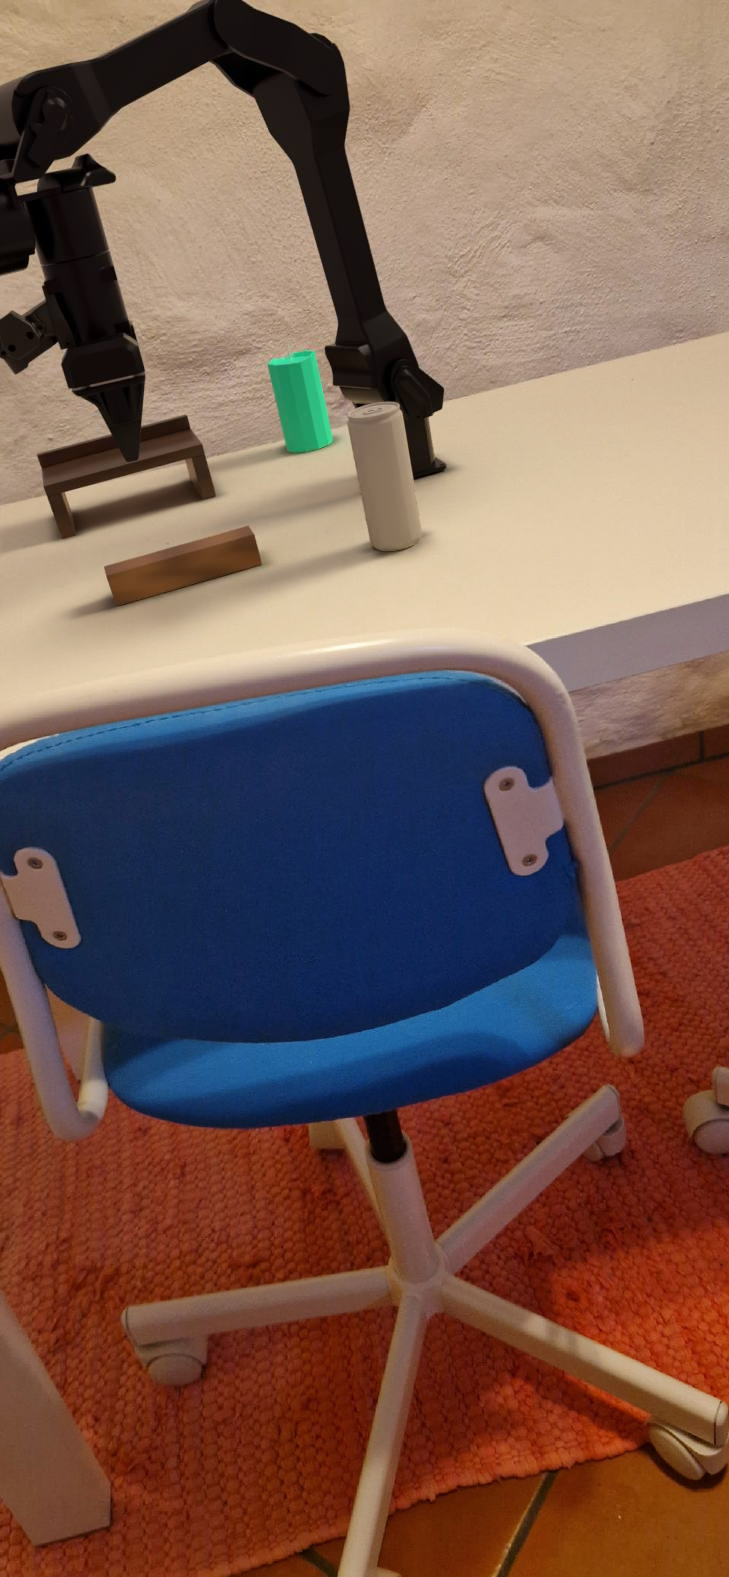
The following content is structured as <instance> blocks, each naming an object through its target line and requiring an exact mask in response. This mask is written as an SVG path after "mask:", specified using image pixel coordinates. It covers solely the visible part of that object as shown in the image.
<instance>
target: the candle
mask: <svg viewBox="0 0 729 1577" xmlns="http://www.w3.org/2000/svg"><path fill="white" fill-rule="evenodd" d="M287 349H288V354H289V355H287V356H285V357H283V358H272V359H271V360H270V361H268V363H267V369H268V374H269V378H270V383H271V387H272V391H273V395H274V400H275V404H276V408H277V412H278V413H277V414H278V418H279V421H280V425H281V430H282V434H283V438H284V444H285V449H286V450H287V453H295V454H299V453H307V452H313V451H315V450H319V449H322V448H324V447H327V446H329V445H330V444H332V443H333V442H334V439H333V434H332V428H331V424H330V419H329V414H328V409H327V404H326V398H325V393H324V390H323V384H322V380H321V374H320V369H319V365H318V361H317V360H318V359H317V355H316V351H314V350H308V349H307V350H301V351H295V352H292V353H291V349H290V344H289V343H287Z"/></svg>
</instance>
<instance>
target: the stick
mask: <svg viewBox="0 0 729 1577" xmlns="http://www.w3.org/2000/svg"><path fill="white" fill-rule="evenodd" d="M261 565H263V562H262V558H261V553H260V550H259V546H258V542H257V538H256V535H255V533H254V531H253V530H252V529H251V527H250V526H249V525H246V526H242V527H238V528H235V529H231V530H227V531H224V532H220V533H217V534H213V535H211V536H206V537H203V538H199V539H196V540H193V541H189V542H185V543H182V544H178V545H175V546H170V547H167V548H163V549H160V550H157V551H154V552H149V553H146V554H142V555H139V556H135V557H132V558H128V559H125V560H121V561H118V562H113V563H110V564H107V565H104V566H103V569H104V573H105V577H106V579H107V583H108V587H109V589H110V592H111V595H112V598H113V601H114V603H115V606H116V607H119V606H122V605H126V604H129V603H134V602H136V601H139V600H143V599H146V598H150V597H153V596H157V595H161V594H165V593H168V592H171V591H174V590H177V589H181V588H185V587H189V586H192V585H195V584H198V583H202V582H206V581H209V580H213V579H216V578H220V577H223V576H226V575H230V574H233V573H237V572H240V571H243V570H247V569H251V568H254V567H258V566H261Z"/></svg>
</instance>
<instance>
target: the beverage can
mask: <svg viewBox="0 0 729 1577" xmlns="http://www.w3.org/2000/svg"><path fill="white" fill-rule="evenodd" d="M399 407H400V405H399V404H398V403H396V402H380V403H374V404H369V405H365V406H362V407H359V408H356V409H355V408H354V409H351V410H350V411H349V412H348V413H347V416H346V417H347V419H348V420H347V429H348V435H349V441H350V444H351V445H350V446H351V450H352V456H353V461H354V467H355V470H356V476H357V482H358V486H359V492H360V496H361V497H360V498H361V502H362V507H363V512H364V518H365V522H366V527H367V528H366V529H367V532H368V538H369V542H370V544H371V545H372V546H373V547H374V548H375V549H376V550H378V551H382V552H395V551H401V550H404V549H407V548H410V547H412V546H414V545H415V544H417V543H418V542H419V541H420V539H421V537H422V534H423V528H422V522H421V517H420V512H419V505H418V499H417V494H416V486H415V482H414V480H415V479H414V478H413V474H412V468H411V462H410V456H409V450H408V444H407V438H406V432H405V426H404V420H403V414H402V411H401V410H400V409H399Z"/></svg>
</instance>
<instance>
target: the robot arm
mask: <svg viewBox="0 0 729 1577" xmlns="http://www.w3.org/2000/svg"><path fill="white" fill-rule="evenodd" d="M207 63H211V64H212V65H213V66H215V67H216V69H217V70H218V71H219V72H220V73H221V74H222V75H223V76H224V77H225V78H226V80H227V81H228V82H229V83H230V84H231V85H232V87H233V86H234V87H235V88H236V89H238V90H240V91H241V92H243V93H245V94H246V95H248V96H249V97H251V98H253V99H254V100H255V104H256V105H257V107H258V109H259V112H260V114H261V116H262V119H263V121H264V123H265V126H266V128H267V130H268V133H269V134H270V136H271V137H272V138H273V140H274V141H275V142H276V144H277V145H278V146H279V147H280V149H281V150H282V151H283V153H284V154H285V155H286V156H287V157H288V159H289V160H290V161H291V163H292V166H293V168H294V172H295V175H296V178H297V181H298V184H299V189H300V191H301V192H300V193H301V196H302V199H303V203H304V205H305V210H306V213H307V217H308V221H309V224H310V227H311V231H312V235H313V238H314V240H315V241H314V242H315V244H316V245H315V246H316V248H317V252H318V256H319V259H320V262H321V265H322V270H323V272H324V276H325V280H326V283H327V286H328V290H329V294H330V297H331V301H332V305H333V308H334V312H335V315H336V319H337V330H336V334H335V340H334V343H330V344H327V345H325V346H324V355H325V358H326V360H327V361H328V364H329V367H330V369H331V375H332V386H333V387H338V388H339V390H340V391H341V394H342V396H343V397H344V398H345V399H346V400H348V401H350V402H351V404H352V405H353V406H354V409H356V408H359V407H362V406H365V405H369V404H374V403H380V402H396V403H398V404H399V405H400V407H399V409H400V410H401V411H402V414H403V420H404V426H405V432H406V438H407V444H408V450H409V456H410V462H411V468H412V474H413V479H415V478H420V477H423V476H425V475H430V474H432V473H437V472H441V471H444V470H446V469H447V468H448V467H447V466H448V465H447V463H446V462H444V461H443V460H441V459H440V458H438V457H436V456H435V451H434V450H435V449H434V443H433V438H432V431H431V425H430V417H432V416H434V414H435V413H437V412H439V411H441V410H442V409H443V406H444V396H445V387H444V386H442V385H441V384H440V383H439V382H438V381H436V380H435V379H434V378H433V377H431V376H430V375H429V374H428V373H426V372H425V371H424V370H423V369H422V368H420V365H419V362H418V358H417V356H416V354H415V351H414V349H413V346H412V344H411V341H410V339H409V336H408V335H407V333H406V332H405V331H404V329H403V328H402V327H401V325H400V324H399V323H398V322H397V320H396V319H395V318H394V316H393V315H392V314H391V313H390V312H389V310H388V308H387V305H386V304H385V300H384V296H383V291H382V288H381V284H380V279H379V276H378V272H377V269H376V264H375V260H374V257H373V252H372V248H371V244H370V240H369V237H368V233H367V229H366V226H365V221H364V218H363V214H362V210H361V206H360V202H359V198H358V194H357V191H356V187H355V183H354V178H353V174H352V171H351V166H350V162H349V159H348V154H347V151H346V150H347V149H346V138H347V131H348V126H349V119H350V112H351V102H350V94H349V87H348V78H347V68H346V65H345V60H344V58H343V55H342V52H341V50H340V48H339V46H338V45H337V43H335V42H332V41H331V40H330V39H329V38H327V36H325V35H324V34H321V33H318V32H308V31H307V30H305V29H304V28H302V27H300V26H299V25H298V24H296V23H294V22H291V21H289V20H286V19H283V18H281V17H278V16H276V15H273V14H270V13H267V12H266V11H262V10H260V9H258V8H255V7H254V6H252V5H250V4H249V3H247V2H246V1H244V0H199V1H197V2H195V3H193V4H192V5H191V6H190V7H189V8H188V9H187V10H186V11H185V12H183V13H181V14H179V15H177V16H174V17H173V18H170V19H169V20H167V21H165V22H163V23H161V24H159V25H157V26H155V27H154V28H152V29H149V30H147V31H145V32H143V33H141V34H140V35H137V36H136V37H133V38H131V39H129V40H128V41H126V42H124V43H121V44H120V45H118V46H116V47H114V48H112V49H110V50H108V51H105V52H104V53H102V54H100V55H98V56H96V57H94V58H91V59H86V60H81V61H80V60H79V61H73V62H69V63H63V64H60V65H54V66H51V67H47V68H43V69H37V70H34V71H32V72H29V73H27V74H23V75H22V76H19V77H16V78H15V79H12V80H10V81H7V82H6V83H3V84H1V85H0V277H2V276H7V275H10V274H16V273H21V272H24V271H25V270H27V269H28V267H29V264H30V256H34V255H36V254H37V258H38V261H39V264H40V269H41V270H42V274H43V277H44V281H43V284H42V285H41V289H42V292H43V293H42V294H43V296H44V299H43V300H42V301H40V302H39V303H37V304H36V305H34V306H32V308H30V309H28V310H27V311H26V312H24V313H23V314H20V313H19V312H16V311H15V310H13V309H12V310H10V311H9V312H8V313H7V314H5V315H4V316H3V317H1V318H0V359H2V360H3V361H4V362H5V363H6V365H7V366H8V368H9V370H11V371H12V373H13V374H14V375H16V376H17V375H18V374H20V373H22V372H23V371H24V370H25V369H28V367H29V364H30V363H31V362H33V361H34V360H35V359H37V358H39V357H40V356H41V355H43V354H45V352H48V350H50V349H51V348H53V347H54V346H55V345H57V344H58V346H59V349H60V351H63V350H65V352H64V354H63V356H62V358H61V362H60V366H61V369H62V374H63V375H64V379H65V382H66V386H67V389H68V390H70V389H71V393H72V394H73V395H74V396H76V397H78V398H81V399H83V400H85V401H87V402H89V403H91V404H92V405H94V406H95V407H96V408H97V411H98V412H99V413H100V415H101V417H102V420H103V421H104V423H105V425H106V428H108V431H109V432H110V434H112V436H113V438H114V440H115V442H116V444H117V446H118V447H119V449H120V451H121V453H122V455H123V457H124V459H125V461H126V462H132V461H136V460H138V459H139V449H140V436H141V426H142V422H143V410H144V398H145V387H146V379H147V378H146V367H145V365H144V361H143V356H142V354H141V350H140V345H139V341H138V338H137V334H136V331H135V327H134V323H133V321H132V320H131V319H130V318H129V315H128V312H127V309H126V305H125V301H124V297H123V294H122V290H121V286H120V283H119V279H118V275H117V272H116V268H115V265H114V261H113V257H112V254H111V251H110V247H109V243H108V238H107V236H106V232H105V229H104V224H103V221H102V218H101V213H100V211H99V206H98V202H97V200H96V196H95V192H94V188H96V187H102V186H106V185H110V184H114V183H116V181H117V176H116V175H117V174H115V173H114V172H113V171H112V170H110V169H109V168H106V167H105V166H103V165H102V164H100V163H99V162H98V161H97V160H95V159H94V157H93V156H92V155H91V154H90V153H88V152H87V153H84V154H83V153H82V154H80V155H76V156H75V158H74V161H73V163H72V166H71V167H70V168H65V169H58V170H54V171H49V172H47V171H48V170H49V169H50V167H51V166H52V164H53V163H54V162H56V161H59V160H64V159H66V158H71V157H72V156H73V155H74V154H76V153H77V152H78V151H79V150H80V149H81V148H83V147H84V146H85V145H86V144H88V143H89V141H90V140H92V139H93V138H94V137H96V135H97V134H99V133H100V132H101V131H102V130H103V129H104V128H105V126H106V125H107V124H108V123H109V121H110V120H111V119H112V118H113V117H114V116H115V115H116V114H117V113H118V112H120V110H122V109H123V108H125V107H127V106H129V105H131V104H132V103H135V102H136V101H139V100H140V99H142V98H144V97H145V96H147V95H149V94H151V93H153V92H155V91H156V90H158V89H160V88H162V87H164V86H166V85H169V84H170V83H171V82H173V81H175V80H177V79H179V78H181V77H183V76H185V75H187V74H188V73H190V72H192V71H195V70H196V69H198V68H200V67H201V66H203V65H205V64H207ZM36 180H38V181H37V185H36V191H33V192H28V193H24V194H18V192H17V189H16V185H18V184H19V185H20V184H23V183H27V182H32V181H36Z"/></svg>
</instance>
